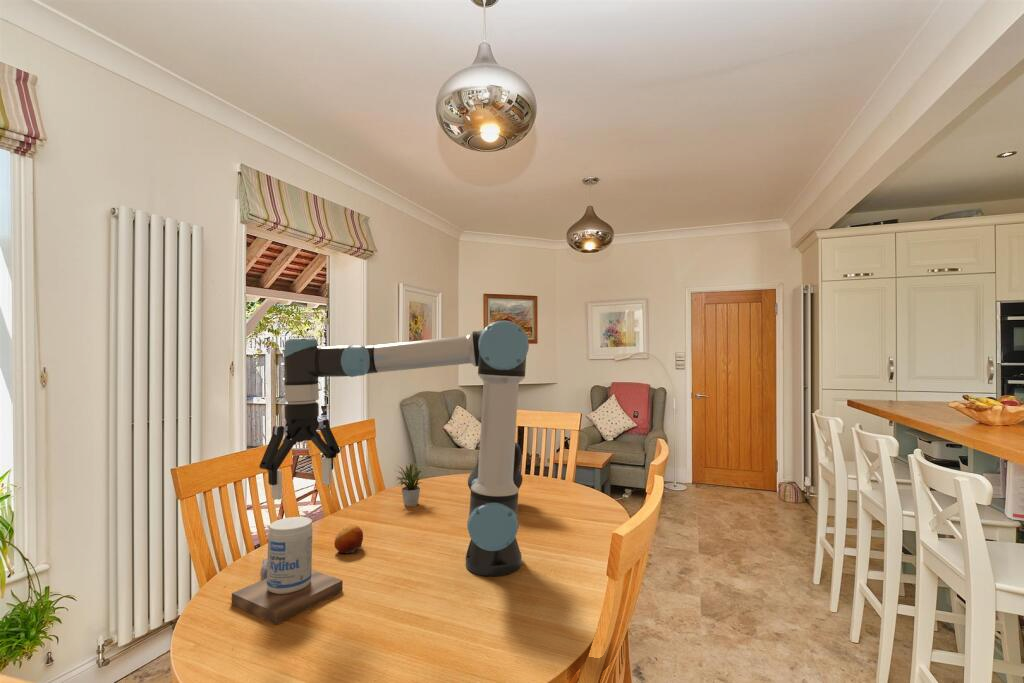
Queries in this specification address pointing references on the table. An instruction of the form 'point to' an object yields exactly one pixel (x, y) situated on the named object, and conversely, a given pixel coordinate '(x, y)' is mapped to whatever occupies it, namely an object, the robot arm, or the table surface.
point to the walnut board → (285, 598)
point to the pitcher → (516, 473)
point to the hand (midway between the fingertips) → (303, 491)
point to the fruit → (349, 539)
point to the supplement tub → (289, 555)
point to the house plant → (410, 485)
